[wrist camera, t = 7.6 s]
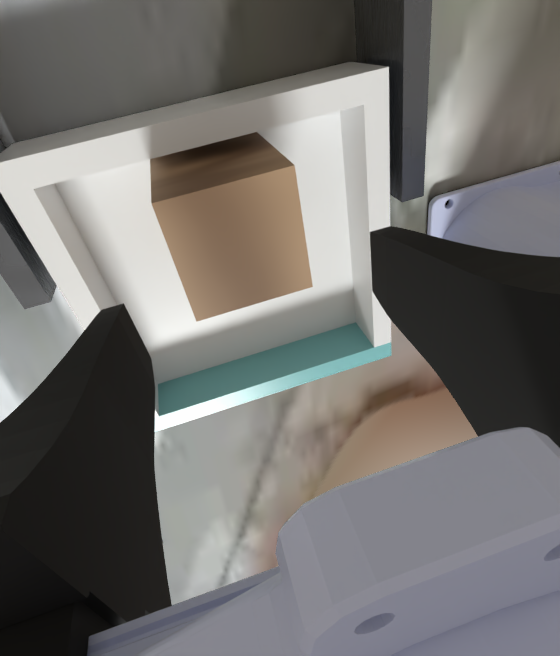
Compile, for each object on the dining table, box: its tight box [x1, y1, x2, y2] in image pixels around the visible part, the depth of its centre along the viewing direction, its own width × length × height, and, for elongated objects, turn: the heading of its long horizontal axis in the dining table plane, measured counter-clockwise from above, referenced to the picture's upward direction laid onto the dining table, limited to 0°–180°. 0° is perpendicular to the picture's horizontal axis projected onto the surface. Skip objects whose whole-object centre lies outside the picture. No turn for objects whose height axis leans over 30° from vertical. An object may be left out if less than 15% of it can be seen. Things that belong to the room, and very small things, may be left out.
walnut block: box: [150, 132, 313, 322], centre depth 16 cm, size 4×4×6 cm
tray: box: [0, 62, 391, 432], centre depth 19 cm, size 14×14×4 cm
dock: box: [0, 0, 432, 309], centre depth 14 cm, size 17×14×4 cm
